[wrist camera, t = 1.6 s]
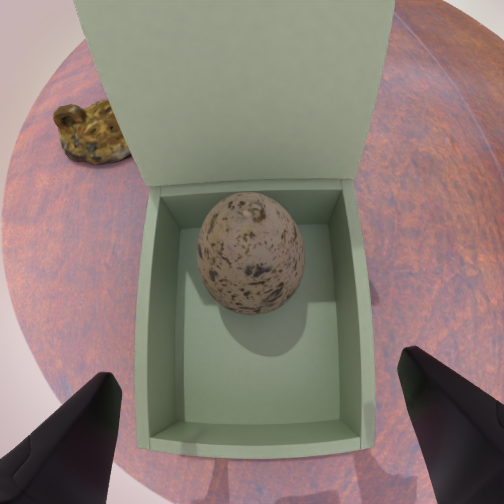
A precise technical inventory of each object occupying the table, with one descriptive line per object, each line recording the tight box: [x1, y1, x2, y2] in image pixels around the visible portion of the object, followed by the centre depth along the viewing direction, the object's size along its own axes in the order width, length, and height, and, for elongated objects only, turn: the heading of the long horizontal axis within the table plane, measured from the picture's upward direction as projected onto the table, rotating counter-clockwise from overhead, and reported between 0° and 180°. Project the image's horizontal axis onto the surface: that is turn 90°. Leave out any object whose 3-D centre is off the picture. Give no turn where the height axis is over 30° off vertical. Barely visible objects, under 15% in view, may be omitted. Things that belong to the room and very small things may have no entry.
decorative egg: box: [197, 192, 305, 315], centre depth 16 cm, size 6×6×10 cm
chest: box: [134, 178, 375, 459], centre depth 18 cm, size 16×13×6 cm
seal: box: [53, 99, 131, 164], centre depth 26 cm, size 9×5×15 cm
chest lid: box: [73, 0, 395, 187], centre depth 11 cm, size 16×13×4 cm
